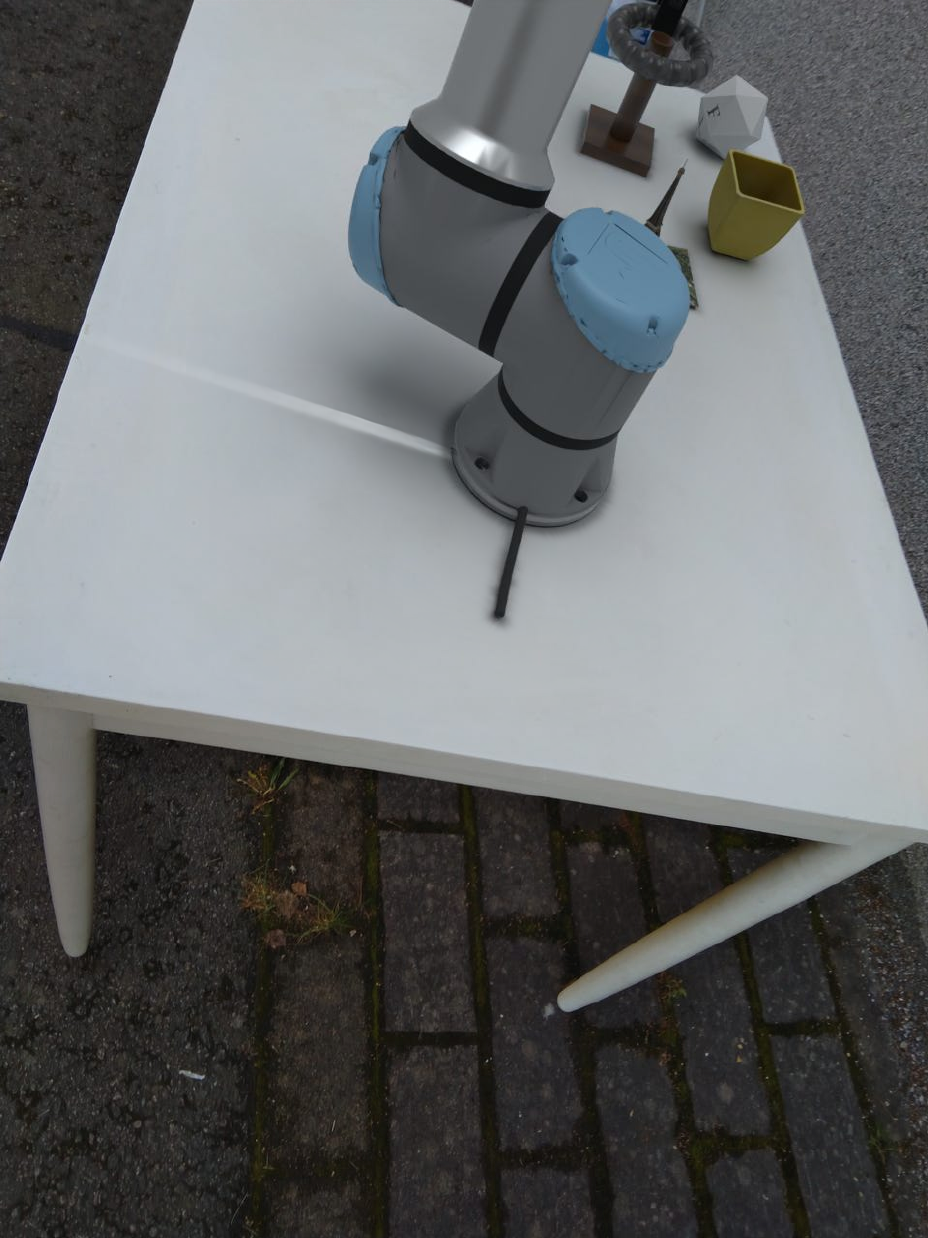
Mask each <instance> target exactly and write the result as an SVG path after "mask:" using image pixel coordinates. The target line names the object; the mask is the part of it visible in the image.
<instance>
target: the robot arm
mask: <svg viewBox="0 0 928 1238" xmlns="http://www.w3.org/2000/svg"><path fill="white" fill-rule="evenodd" d="M613 1H614V0H473V1H472V5H471V7H470V11H469V13H468V16H467V19H466V22H465V25H464V27H463V30H462V33H461V36H460V39H459V41H458V44H457V47H456V49H455V53H454V55H453V59H452V61H451V64H450V66H449V70H448V72H447V75H446V78H445V81H444V84H443V86H442V89H441V92H440V93H439V95H438V96H437V97H436V98H435V99H432V100H430V101H428V102H425V103H423V104H421V105H419V106H416V107H415V108H413V109H412V111H411V112H410V115H409V118H408V121H407V124H406V125H402V126H401V125H400V126H399V125H395V126H393V127H390V128H388V129H386V130H385V131H384V132H383V133H382V134H381V135H380V136H379V137H378V138H377V140H376V141H375V143H374V144H373V146H372V148H371V150H370V152H369V155H368V161H367V164H364V165H363V166H362V168H361V171H360V174H359V177H358V179H357V182H356V186H355V189H354V193H353V197H352V201H351V206H350V212H349V217H348V218H349V219H348V226H347V227H348V229H347V248H348V255H349V258H350V261H351V263H352V264H351V265H352V267H353V269H354V272H355V273H356V275H357V276H358V277H359V278H360V279H361V280H362V282H364V283H365V284H367V285H368V286H369V287H371V288H373V289H374V290H375V291H377V292H378V293H381V294H382V295H383V296H384V297H387V299H388V300H389V301H390V302H391V303H392V305H395V306H396V307H399V308H402V309H406V310H407V311H409V312H411V313H413V314H415V315H416V316H418V317H420V318H422V319H423V320H425V321H427V322H429V323H431V324H432V325H434V326H436V327H437V328H439V329H441V330H443V331H445V332H446V333H448V334H449V335H452V336H454V337H456V339H459V340H461V342H464V343H466V344H467V345H469V346H471V347H474V348H475V349H477V350H478V351H480V352H482V353H484V354H485V355H487V356H488V357H490V358H492V359H494V360H496V361H497V362H498V363H499V362H500V363H501V364H502V365H501V368H500V369H499V372H497V373H496V374H495V376H493V377H492V378H491V379H490V380H489V381H488V382H487V383H486V384H485V385H483V386H482V388H481V389H480V390H478V392H477V393H475V394H474V395H473V396H472V397H471V398H470V399H469V400H468V401H467V403H466V404H465V405H464V406H463V408H462V410H461V411H460V413H459V414H458V415H459V416H458V418H457V420H456V423H455V427H454V431H453V432H454V433H453V442H454V443H453V444H454V447H451V448H450V449H451V456H452V460H453V463H454V466H455V469H456V471H457V473H458V475H459V477H460V479H461V480H462V481H463V483H464V485H465V486H466V487H467V488H468V489H469V491H470V492H471V493H472V494H473V495H474V496H475V497H476V498H477V499H478V500H480V502H482V503H483V504H484V505H486V506H487V507H488V508H490V509H491V510H493V511H495V512H496V513H497V514H500V515H502V516H504V517H505V518H508V519H510V520H513V521H514V522H515V523H514V527H513V530H512V535H511V540H510V543H509V546H508V550H507V555H506V559H505V562H504V566H503V570H502V575H501V580H500V583H499V589H498V595H497V600H496V605H495V610H494V616H496V617H497V618H504V617H505V616H506V610H507V606H508V605H507V604H508V600H509V594H510V588H511V584H512V579H513V574H514V571H515V566H516V563H517V558H518V554H519V550H520V547H521V542H522V538H523V534H524V530H525V525H526V524H527V525H530V526H537V527H558V526H565V525H568V524H572V523H574V522H577V521H579V520H581V519H583V518H584V517H586V516H587V515H588V514H590V513H591V512H592V511H593V510H594V509H595V507H597V505H598V504H599V502H600V501H601V499H602V498H603V497H604V495H605V493H606V492H607V489H608V488H609V485H610V482H611V478H612V475H613V469H614V462H615V458H616V457H615V455H616V450H617V444H618V437H619V433H620V432H621V430H622V428H623V427H624V425H625V424H626V422H627V421H628V419H629V417H630V416H631V414H632V413H633V411H634V410H635V408H636V406H637V404H638V403H639V401H640V399H641V398H642V396H643V394H644V393H645V391H646V389H647V388H648V386H649V384H650V383H651V381H652V380H653V378H654V376H655V375H656V373H657V371H658V370H659V369H661V368H662V367H663V366H664V365H665V364H666V363H667V362H668V360H669V359H670V357H671V355H672V353H673V350H674V347H675V343H676V341H677V340H678V337H679V336H680V335H681V332H682V330H683V328H684V327H685V325H686V322H687V320H688V316H689V313H690V308H691V305H690V293H689V287H688V283H687V280H686V278H685V276H684V274H683V273H682V271H681V266H680V264H679V262H678V260H677V259H676V257H675V256H674V254H673V253H672V252H671V250H670V249H669V248H668V247H667V246H668V245H667V244H666V243H665V242H664V241H663V240H662V239H661V237H660V238H659V237H658V236H657V235H656V234H654V233H653V232H652V231H651V230H650V229H648V228H647V227H646V226H644V224H643V223H642V222H639V221H638V220H636V219H635V218H633V217H631V216H629V215H627V214H625V213H623V212H620V211H617V210H613V209H611V210H608V211H607V212H605V211H604V209H602V208H601V207H594V206H593V207H584V208H581V209H578V210H576V211H574V212H571V213H570V214H569V215H568V216H567V217H565V218H563V217H561V216H559V215H558V214H556V213H554V212H553V211H551V210H549V209H548V208H547V207H546V203H547V200H548V198H549V196H550V194H551V192H552V189H553V187H554V185H555V182H556V181H555V180H556V179H555V174H554V171H553V168H552V165H551V161H550V158H549V154H548V148H549V145H550V143H551V141H552V139H553V136H554V134H555V132H556V130H557V127H558V125H559V123H560V121H561V118H562V116H563V114H564V111H565V110H566V107H567V105H568V102H569V101H570V98H571V96H572V94H573V92H574V89H575V87H576V84H577V82H578V80H579V78H580V75H581V73H582V71H583V68H584V66H585V64H586V62H587V60H588V57H589V55H590V53H591V51H592V48H593V46H594V44H595V42H596V39H597V37H598V35H599V33H600V30H601V28H602V26H603V23H604V21H605V18H606V16H607V14H608V12H609V10H610V8H611V6H612V3H613ZM688 3H689V0H657V2H656V4H658V5H660V7H659V9H658V11H657V14H656V16H655V18H654V21H653V23H652V25H651V29H652V30H654V31H661V32H664V33H666V34H668V35H669V36H671V37H672V36H673V33H674V31H675V29H676V27H677V25H678V22H679V20H680V18H681V16H682V15H683V13H684V11H685V9H686V7H687V4H688ZM652 30H651V31H652Z"/></svg>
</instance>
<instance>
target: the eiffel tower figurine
mask: <svg viewBox="0 0 928 1238" xmlns="http://www.w3.org/2000/svg"><path fill="white" fill-rule="evenodd" d="M688 160H689V158H687V160H686V161H685V163H684V165H683V166H682V167H680V168H679V169H678V170H677V174H676V176H675V178H674V179H673V181H672V182H671V184H670V186H669V187H668V189H667V191H666V192H665V194H664V196H663V198H662V199H661V201H660V202H659V204H658V206H657V207H656V209H655V210H654V212H653V213H652V214H651V215H650V217H649V218H647V219H646V220H645V221H646V222H645V223H644V224H643V225H644V226H646V227H647V228H648V229H650V230H651V231H652V232H653V233H654V234H656V235H657V236H658V237H659V238H660V239H661V230H662V227H663V226H664V223H663V222H664V218H665V216H666V213H667V210H668V208H669V206H670V204H671V201H672V198H673V197H674V194H675V192H676V190H677V187H678V185H679V183H680V181H681V178H682V177H683V175H685V172H686V169H685V166H686V164H687V163H688ZM667 247H668V248H669V249H670V250H671V252H672V253H673V254H674V256H675V257H676V259H677V260H678V262H679V264H680V266H681V271H682V273H683V274H684V276H685V278H686V280H687V283H688V287H689V293H690V307H691V306H692V307H696V308H699V302H698V297H697V292H696V287H695V282H694V281H695V280H694V277H693V276H694V275H693V272H692V266H691V261H690V255H689V251H688V248H683V247H677V246H671V245H667Z"/></svg>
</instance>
